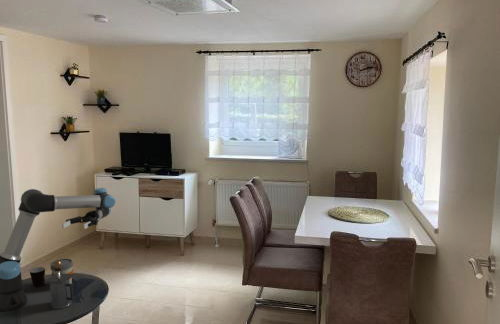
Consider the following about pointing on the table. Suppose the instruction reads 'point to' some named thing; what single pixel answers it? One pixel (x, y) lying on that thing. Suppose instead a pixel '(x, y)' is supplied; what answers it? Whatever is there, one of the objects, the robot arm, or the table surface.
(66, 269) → the reusable coffee cup
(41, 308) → the table surface
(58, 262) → the plunger
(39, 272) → the coffee mug
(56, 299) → the press carafe
